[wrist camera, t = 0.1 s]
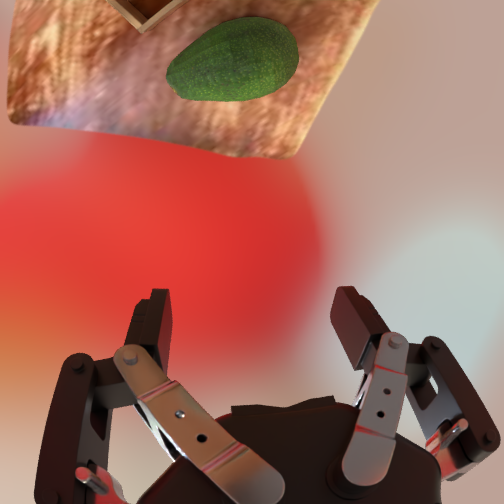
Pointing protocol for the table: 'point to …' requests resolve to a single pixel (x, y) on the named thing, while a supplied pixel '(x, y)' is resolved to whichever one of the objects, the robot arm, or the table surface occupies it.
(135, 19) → the brown wooden shelf
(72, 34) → the table surface
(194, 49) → the fruit
